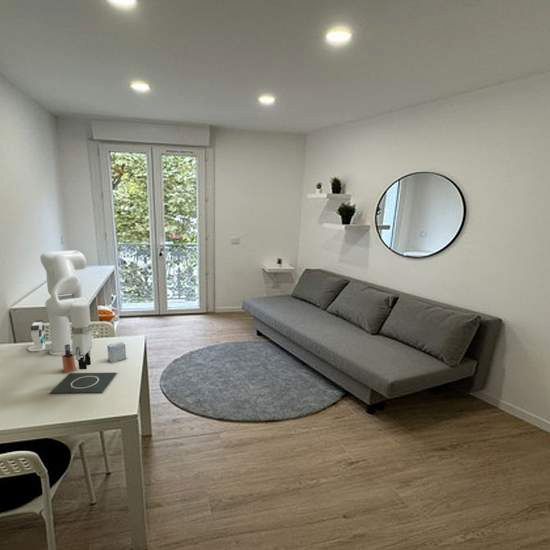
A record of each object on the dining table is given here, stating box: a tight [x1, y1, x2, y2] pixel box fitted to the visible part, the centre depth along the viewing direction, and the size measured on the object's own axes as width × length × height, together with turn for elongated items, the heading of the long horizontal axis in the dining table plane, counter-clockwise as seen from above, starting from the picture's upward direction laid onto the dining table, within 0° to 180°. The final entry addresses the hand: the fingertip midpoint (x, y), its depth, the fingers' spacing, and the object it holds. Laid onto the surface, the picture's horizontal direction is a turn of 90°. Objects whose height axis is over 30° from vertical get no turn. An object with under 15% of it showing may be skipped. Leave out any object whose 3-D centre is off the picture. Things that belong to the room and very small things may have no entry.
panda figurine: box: [27, 319, 51, 352], centre depth 201 cm, size 12×11×15 cm
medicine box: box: [106, 341, 127, 363], centre depth 189 cm, size 8×4×9 cm, turn 134°
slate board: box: [49, 372, 117, 395], centre depth 165 cm, size 22×18×1 cm
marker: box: [64, 344, 72, 358], centre depth 175 cm, size 2×2×13 cm
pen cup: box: [61, 353, 76, 373], centre depth 176 cm, size 5×5×8 cm
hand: (85, 366), depth 161 cm, fingers open, 3 cm apart
